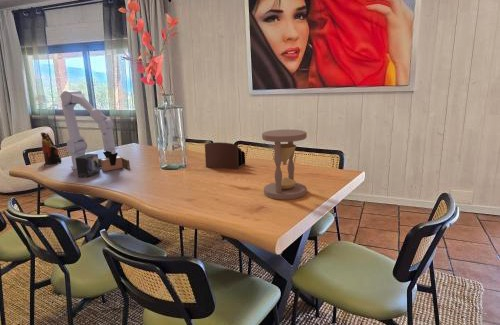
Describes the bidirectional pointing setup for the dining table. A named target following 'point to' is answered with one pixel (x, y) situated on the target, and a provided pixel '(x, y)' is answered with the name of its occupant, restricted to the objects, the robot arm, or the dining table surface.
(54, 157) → the statue
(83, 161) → the small box
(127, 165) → the shelf
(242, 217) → the dining table surface
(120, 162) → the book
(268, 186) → the hourglass
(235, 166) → the letter holder
